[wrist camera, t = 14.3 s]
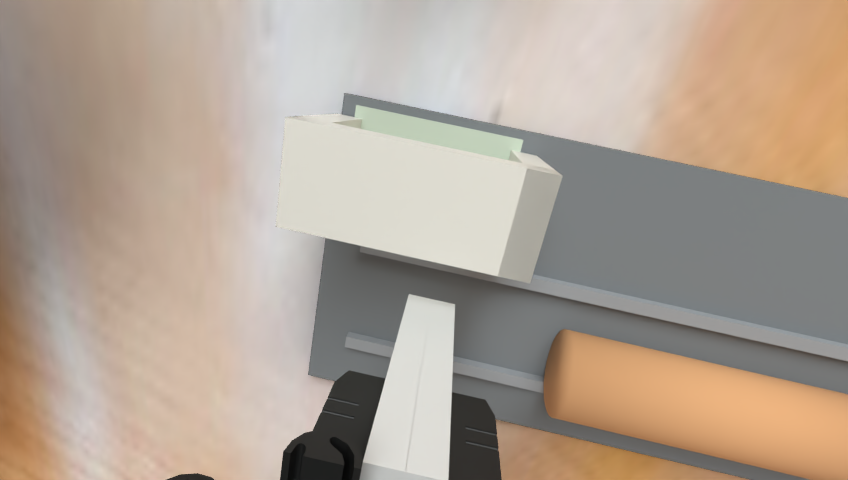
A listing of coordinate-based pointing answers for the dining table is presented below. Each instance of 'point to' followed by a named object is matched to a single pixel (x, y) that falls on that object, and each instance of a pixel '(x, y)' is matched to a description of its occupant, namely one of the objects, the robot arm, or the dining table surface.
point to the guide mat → (608, 278)
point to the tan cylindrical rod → (697, 406)
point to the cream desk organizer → (414, 196)
